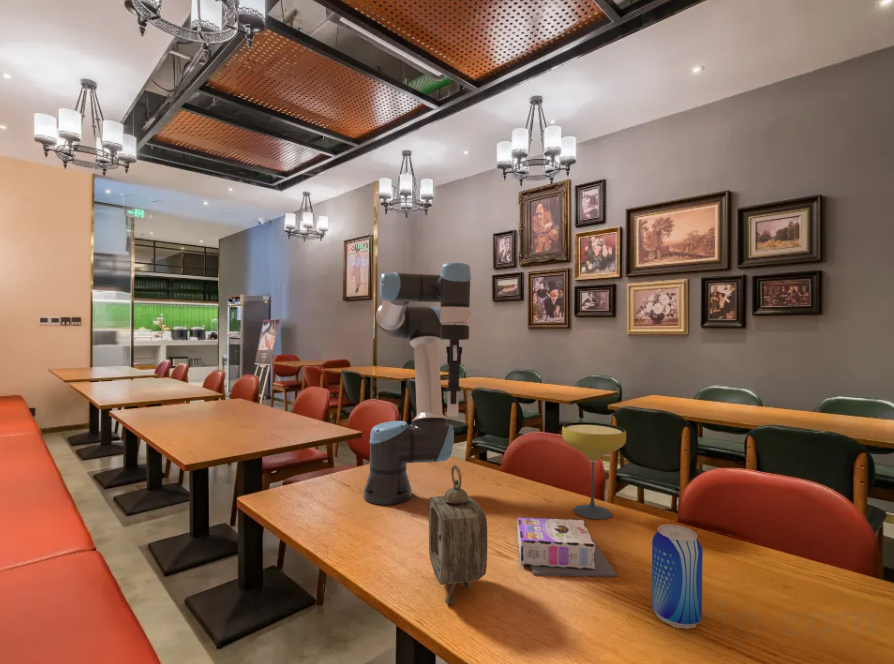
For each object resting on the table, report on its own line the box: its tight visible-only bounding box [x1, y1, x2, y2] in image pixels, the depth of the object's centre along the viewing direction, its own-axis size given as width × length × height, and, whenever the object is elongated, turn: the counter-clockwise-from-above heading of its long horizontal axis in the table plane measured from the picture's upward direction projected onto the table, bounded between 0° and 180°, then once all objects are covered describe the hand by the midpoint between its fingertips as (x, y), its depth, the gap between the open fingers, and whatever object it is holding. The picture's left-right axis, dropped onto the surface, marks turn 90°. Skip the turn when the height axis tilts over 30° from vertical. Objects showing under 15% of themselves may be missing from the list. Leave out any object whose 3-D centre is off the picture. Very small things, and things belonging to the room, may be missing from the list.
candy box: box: [517, 516, 596, 570], centre depth 108 cm, size 14×6×16 cm
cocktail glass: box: [561, 421, 627, 520], centre depth 135 cm, size 18×18×25 cm
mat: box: [529, 540, 617, 578], centre depth 109 cm, size 20×18×1 cm
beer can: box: [650, 524, 704, 629], centre depth 85 cm, size 8×8×16 cm
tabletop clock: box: [428, 464, 488, 606], centre depth 94 cm, size 14×9×25 cm, turn 13°
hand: (452, 415), depth 117 cm, fingers closed
